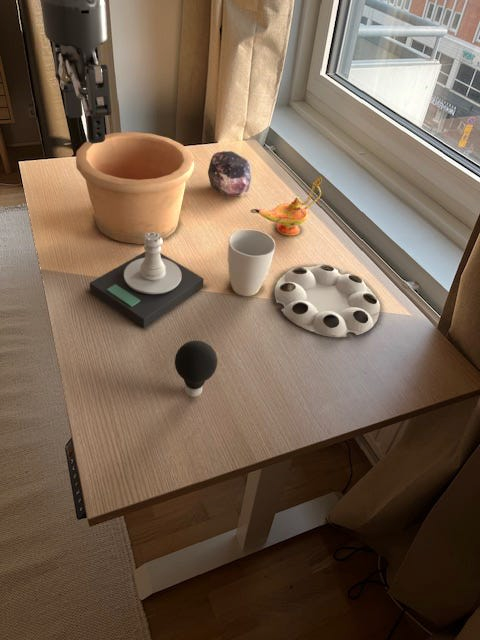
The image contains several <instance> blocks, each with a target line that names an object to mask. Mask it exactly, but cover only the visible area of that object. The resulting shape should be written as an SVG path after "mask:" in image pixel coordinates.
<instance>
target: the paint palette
mask: <svg viewBox="0 0 480 640" xmlns="http://www.w3.org/2000/svg"><path fill="white" fill-rule="evenodd" d="M325 269H328V270H325ZM295 271H298V272H304V273H295ZM350 278H351V279H350ZM352 279H355V280H357V281H358V282H356V281H354V280H352ZM289 285H293V286H294V287H295V288H294V289H293V290H291V291H284V290H283V289H281V287H282V286H289ZM364 296H367V297H369V298H371V299H372V300H374V301H375V302H376V303H370V302H369V301H367V300H366V299H365V298H364ZM274 299H275V302H276V304H280V305H282V306H283V308H281V309H280V311H281V312H282V314H283V316H284V317H286V318H287V319H288V320H289V321H290V322H292V323H293V324H294V325H296V326H298V327H300V328H302V329H304V330H306V331H308V332H311V333H314V334H317V335H320V336H324V337H329V338H347V337H348V335H347V334H348V333H352V334H354V335H355V336H357V335H360V334H364V333H366V332H368V331H370V330H371V329H372V328H373V327H374V325H375V324H376V323H377V321H378V319H379V317H380V310H381V304H380V300H378V298H377V296H376V295H375V294H374V292H373V290H371V289H370V287H369V286H367V285H366V283H365V281H364V280H363V279H362V278H361V277H360V276H358V275H356V274H353V273H345V274H341V273H340V272H339V270H338V269H336V268H335V267H334V266H331V265H328V264H318V265H316V266H304V267H303V266H302V267H293V268H291V269H289V270H287V271H286V272H285V274H283V275H282V276H281V277H280V278H279V280H278V281H277V282H276V285H275V287H274ZM297 304H303V305H305V306H306V307H307V311H306V312H304V313H296V312H294V311H293V307H294V306H295V305H297ZM355 312H361V313H364V314H365V316H366V317H367V321H366V322H360V321H358V320H357V319H356V318H355V316H354V313H355ZM327 316H333V317H335V318H336V319H337V321H338V325H336V326H335V327H330V326H327V325H326V323H324V319H325V317H327Z"/></svg>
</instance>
